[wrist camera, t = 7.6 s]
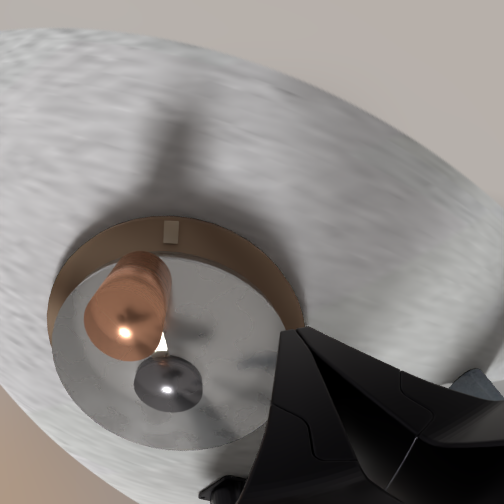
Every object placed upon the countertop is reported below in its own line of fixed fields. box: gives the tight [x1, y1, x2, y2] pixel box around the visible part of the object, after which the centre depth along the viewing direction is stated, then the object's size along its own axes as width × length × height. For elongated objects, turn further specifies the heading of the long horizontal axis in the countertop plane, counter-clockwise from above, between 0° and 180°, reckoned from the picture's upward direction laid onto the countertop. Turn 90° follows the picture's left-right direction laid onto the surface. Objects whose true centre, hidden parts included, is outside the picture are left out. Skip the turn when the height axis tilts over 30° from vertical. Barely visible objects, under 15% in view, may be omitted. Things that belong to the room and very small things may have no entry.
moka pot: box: [449, 369, 504, 401], centre depth 19 cm, size 10×15×20 cm, turn 49°
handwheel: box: [52, 251, 286, 451], centre depth 15 cm, size 16×15×7 cm
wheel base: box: [47, 216, 305, 347], centre depth 19 cm, size 18×18×1 cm
